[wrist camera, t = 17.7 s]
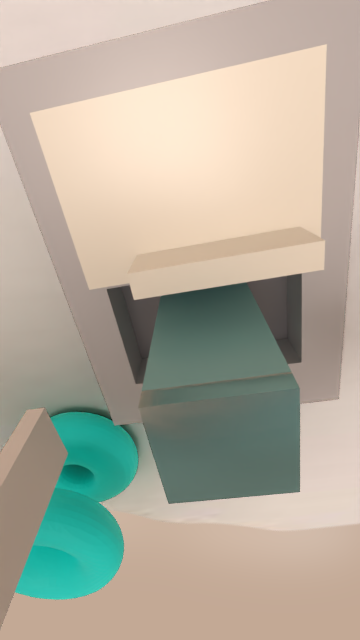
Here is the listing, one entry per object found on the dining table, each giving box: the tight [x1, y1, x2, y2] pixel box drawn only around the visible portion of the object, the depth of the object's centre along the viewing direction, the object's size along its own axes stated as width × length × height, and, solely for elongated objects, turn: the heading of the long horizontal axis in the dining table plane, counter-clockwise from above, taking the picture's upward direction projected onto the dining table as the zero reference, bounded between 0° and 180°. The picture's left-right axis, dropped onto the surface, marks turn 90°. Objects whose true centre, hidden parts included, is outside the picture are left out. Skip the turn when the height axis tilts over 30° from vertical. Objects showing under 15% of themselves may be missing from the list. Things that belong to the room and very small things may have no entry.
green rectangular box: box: [138, 282, 300, 504], centre depth 16 cm, size 5×5×12 cm
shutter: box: [30, 44, 327, 300], centre depth 13 cm, size 12×8×4 cm, turn 100°
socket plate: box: [0, 0, 360, 426], centre depth 18 cm, size 16×21×4 cm
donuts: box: [15, 412, 138, 599], centre depth 24 cm, size 10×10×10 cm
